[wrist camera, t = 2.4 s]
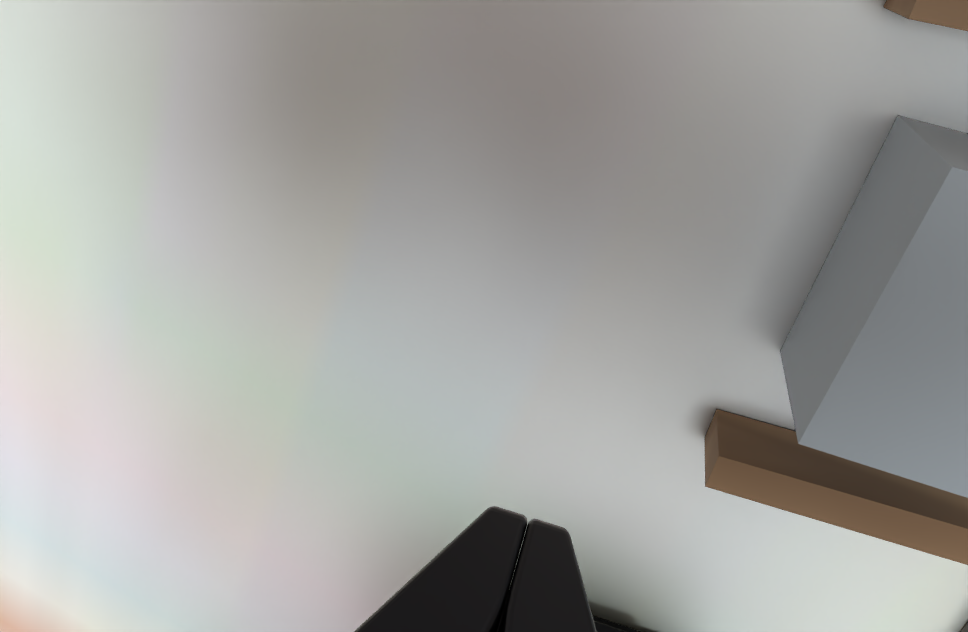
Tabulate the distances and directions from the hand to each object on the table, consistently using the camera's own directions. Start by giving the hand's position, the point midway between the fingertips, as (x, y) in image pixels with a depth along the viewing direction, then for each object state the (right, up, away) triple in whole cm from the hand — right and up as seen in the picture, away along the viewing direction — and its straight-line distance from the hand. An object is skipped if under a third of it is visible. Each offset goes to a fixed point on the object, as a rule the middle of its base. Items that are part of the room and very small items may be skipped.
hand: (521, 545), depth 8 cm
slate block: (+10, +3, +9) cm, 14 cm away
